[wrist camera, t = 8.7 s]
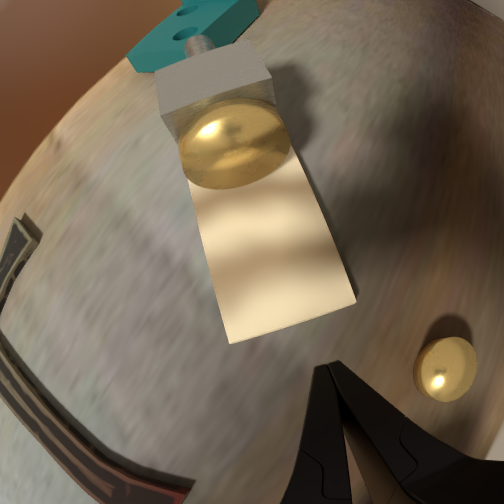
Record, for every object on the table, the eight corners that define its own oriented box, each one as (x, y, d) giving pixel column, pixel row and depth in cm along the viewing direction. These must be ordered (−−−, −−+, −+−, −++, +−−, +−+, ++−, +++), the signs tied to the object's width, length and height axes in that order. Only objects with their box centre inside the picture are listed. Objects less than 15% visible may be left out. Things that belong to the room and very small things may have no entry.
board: (354, 303, 23) (356, 301, 22) (232, 343, 23) (229, 343, 22) (268, 104, 30) (267, 97, 29) (180, 134, 31) (177, 128, 30)
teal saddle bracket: (204, 17, 40) (184, -29, 31) (260, 14, 37) (243, -39, 27) (141, 79, 37) (107, 28, 27) (199, 79, 33) (166, 14, 23)
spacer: (457, 398, 19) (470, 401, 16) (407, 396, 20) (417, 401, 17) (466, 340, 20) (480, 338, 18) (417, 336, 21) (429, 334, 19)
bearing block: (282, 151, 27) (272, 77, 18) (199, 180, 27) (160, 115, 19) (262, 109, 29) (248, 39, 20) (188, 134, 29) (154, 71, 21)
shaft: (293, 169, 25) (286, 102, 17) (201, 200, 25) (164, 144, 18) (240, 61, 30) (226, 6, 23) (175, 83, 31) (150, 33, 23)
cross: (123, 590, 14) (-61, 380, 26) (129, 583, 15) (-54, 380, 28) (254, 369, 21) (-7, 198, 33) (258, 368, 23) (0, 203, 35)
